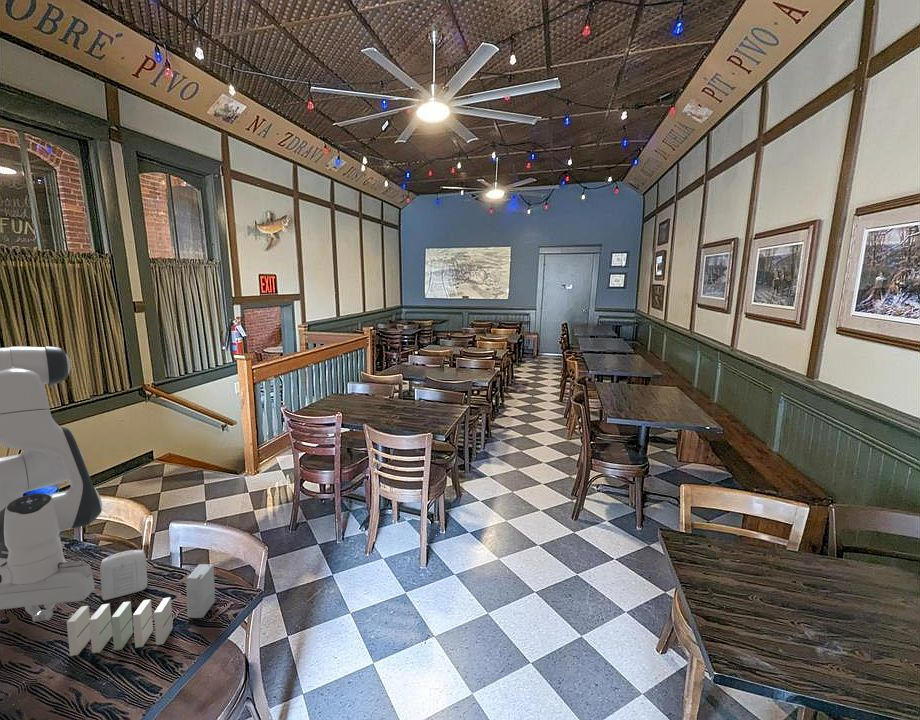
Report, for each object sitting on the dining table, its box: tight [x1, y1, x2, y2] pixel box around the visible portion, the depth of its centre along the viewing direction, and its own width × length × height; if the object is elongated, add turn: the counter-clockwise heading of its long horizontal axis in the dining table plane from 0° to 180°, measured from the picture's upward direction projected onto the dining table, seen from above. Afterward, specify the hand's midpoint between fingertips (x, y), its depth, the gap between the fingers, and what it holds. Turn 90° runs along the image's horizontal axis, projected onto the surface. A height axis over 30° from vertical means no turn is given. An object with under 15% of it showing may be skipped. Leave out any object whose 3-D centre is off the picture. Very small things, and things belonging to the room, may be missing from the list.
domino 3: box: [132, 599, 154, 649], centre depth 102 cm, size 2×5×9 cm, turn 13°
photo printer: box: [99, 549, 148, 601], centre depth 117 cm, size 10×4×12 cm, turn 123°
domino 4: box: [153, 596, 174, 646], centre depth 103 cm, size 2×5×9 cm, turn 13°
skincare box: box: [185, 563, 216, 619], centre depth 111 cm, size 6×4×12 cm
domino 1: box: [66, 605, 91, 657], centre depth 99 cm, size 2×5×9 cm, turn 13°
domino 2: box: [89, 603, 113, 654], centre depth 100 cm, size 2×5×9 cm, turn 13°
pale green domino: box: [111, 600, 134, 651], centre depth 101 cm, size 2×5×9 cm, turn 13°
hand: (43, 618), depth 96 cm, fingers closed
